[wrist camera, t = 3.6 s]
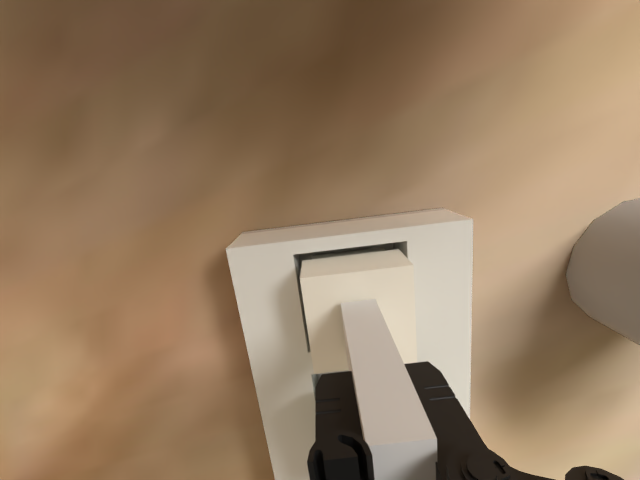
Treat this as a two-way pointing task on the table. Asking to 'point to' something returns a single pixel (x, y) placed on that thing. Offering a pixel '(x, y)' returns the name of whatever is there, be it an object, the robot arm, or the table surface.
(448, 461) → the robot arm
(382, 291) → the key cream
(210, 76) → the table surface
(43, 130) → the table surface
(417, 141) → the table surface
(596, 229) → the cup
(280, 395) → the keypad
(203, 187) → the table surface
